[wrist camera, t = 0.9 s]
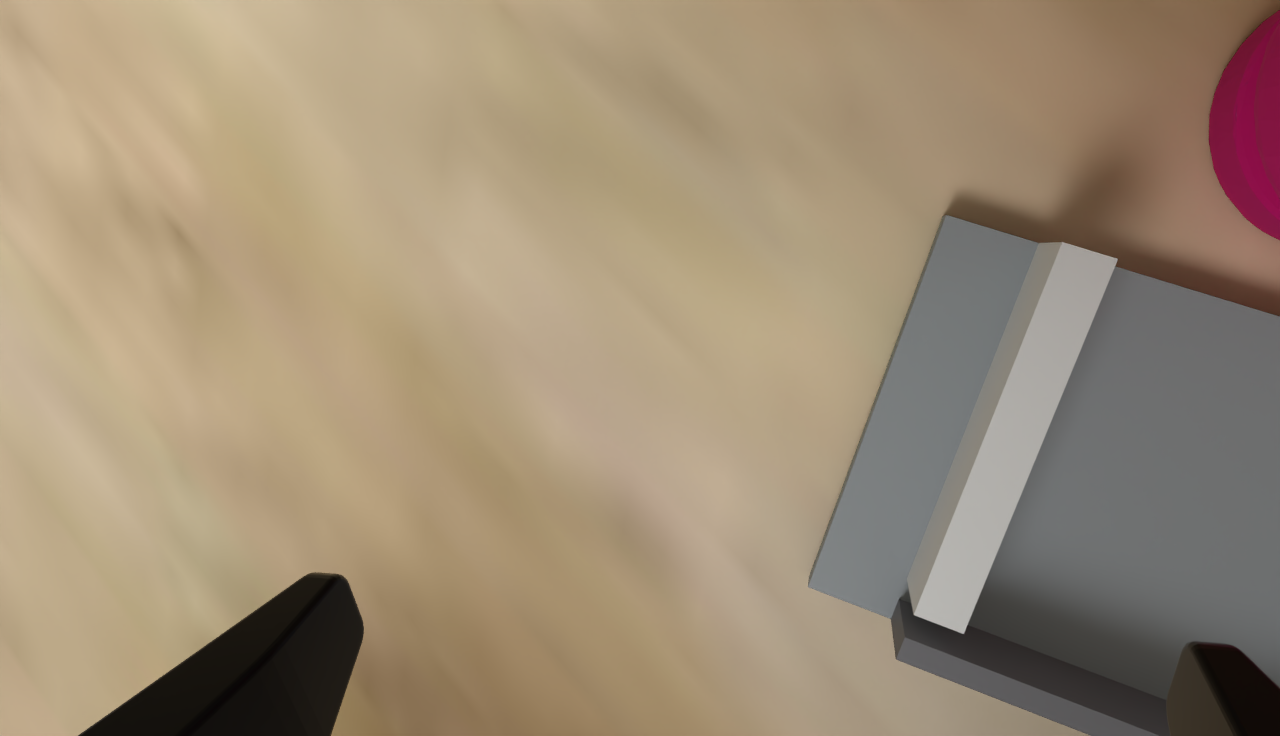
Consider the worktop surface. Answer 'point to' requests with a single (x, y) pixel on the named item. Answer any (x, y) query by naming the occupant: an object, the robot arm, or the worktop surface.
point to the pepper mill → (1250, 128)
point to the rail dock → (1065, 482)
